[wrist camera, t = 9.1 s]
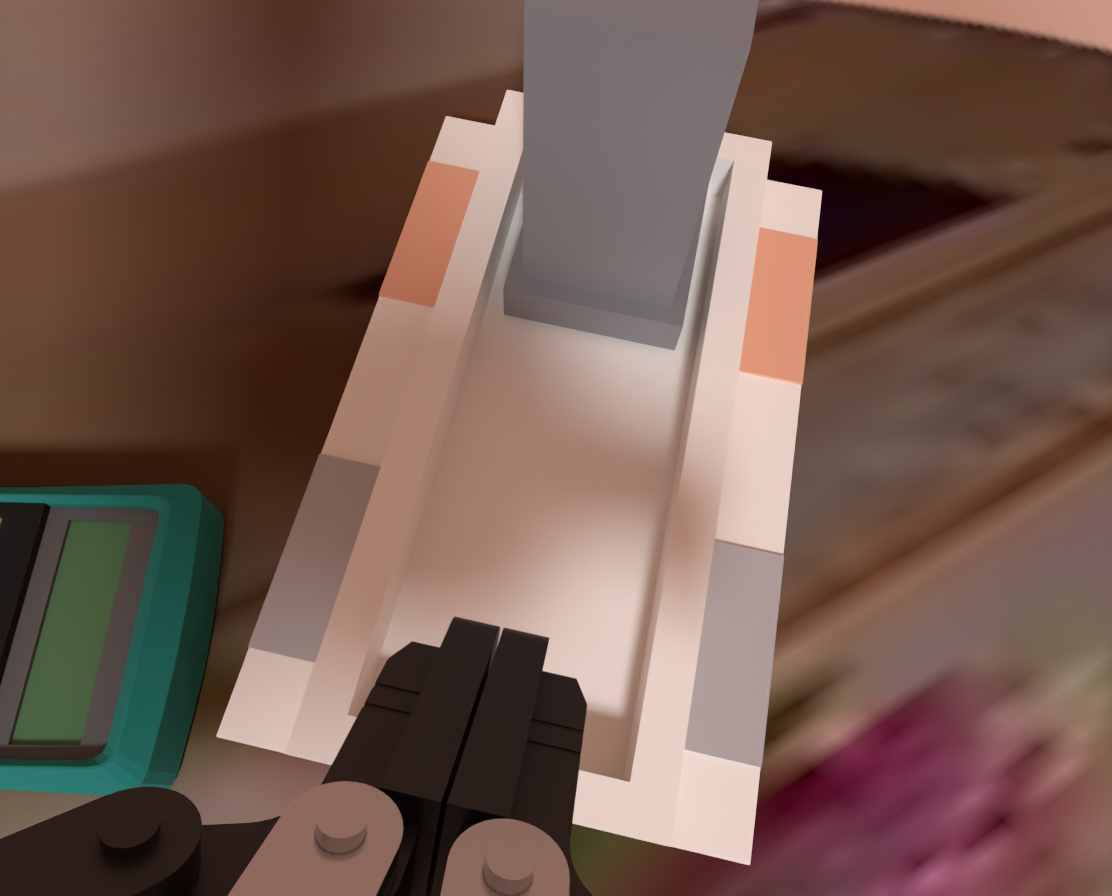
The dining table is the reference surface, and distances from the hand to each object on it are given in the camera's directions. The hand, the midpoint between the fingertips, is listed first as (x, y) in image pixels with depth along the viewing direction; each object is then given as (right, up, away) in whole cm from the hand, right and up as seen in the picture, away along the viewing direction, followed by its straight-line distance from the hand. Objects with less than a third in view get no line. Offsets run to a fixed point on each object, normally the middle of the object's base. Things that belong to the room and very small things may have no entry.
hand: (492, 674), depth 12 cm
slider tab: (+2, +9, +11) cm, 14 cm away
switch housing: (+1, +3, +11) cm, 12 cm away
